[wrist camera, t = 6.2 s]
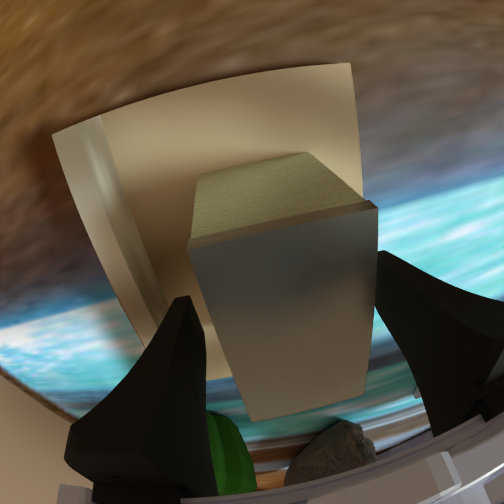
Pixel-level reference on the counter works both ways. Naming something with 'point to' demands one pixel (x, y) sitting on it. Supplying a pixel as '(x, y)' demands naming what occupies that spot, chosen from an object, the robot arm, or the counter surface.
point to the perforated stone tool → (332, 454)
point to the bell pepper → (230, 457)
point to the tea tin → (287, 280)
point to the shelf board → (194, 174)
